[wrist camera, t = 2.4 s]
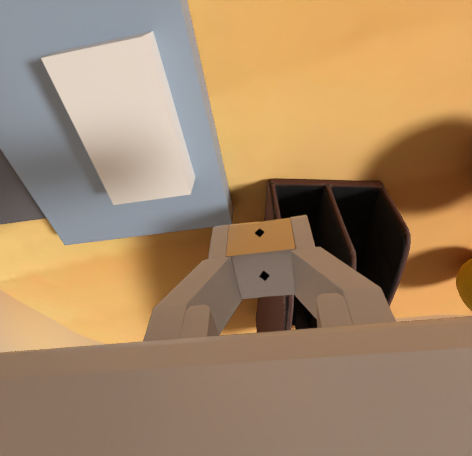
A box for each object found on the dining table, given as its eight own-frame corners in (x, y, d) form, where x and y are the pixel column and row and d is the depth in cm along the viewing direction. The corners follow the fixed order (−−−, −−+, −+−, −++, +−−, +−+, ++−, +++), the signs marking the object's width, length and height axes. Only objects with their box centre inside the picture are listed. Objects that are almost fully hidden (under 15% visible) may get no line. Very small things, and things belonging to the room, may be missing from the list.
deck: (-78, -21, 20) (-114, -22, 18) (168, -86, 18) (157, -94, 16) (76, 228, 32) (64, 245, 30) (233, 208, 30) (231, 224, 28)
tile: (61, 50, 20) (40, 58, 18) (153, 30, 19) (141, 36, 17) (123, 188, 26) (113, 205, 24) (195, 177, 25) (190, 194, 23)
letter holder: (255, 316, 40) (257, 446, 29) (266, 176, 28) (278, 306, 17) (335, 319, 40) (368, 451, 29) (382, 179, 28) (471, 313, 16)
